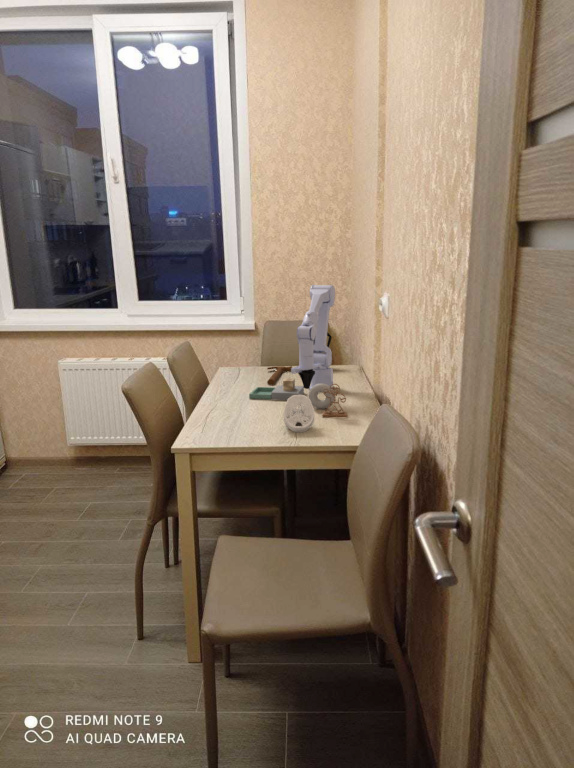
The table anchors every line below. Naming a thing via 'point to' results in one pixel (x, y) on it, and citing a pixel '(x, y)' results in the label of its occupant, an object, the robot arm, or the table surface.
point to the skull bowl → (298, 413)
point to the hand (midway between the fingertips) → (306, 388)
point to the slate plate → (286, 392)
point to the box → (261, 393)
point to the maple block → (289, 384)
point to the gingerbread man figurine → (335, 414)
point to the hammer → (277, 373)
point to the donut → (314, 399)
